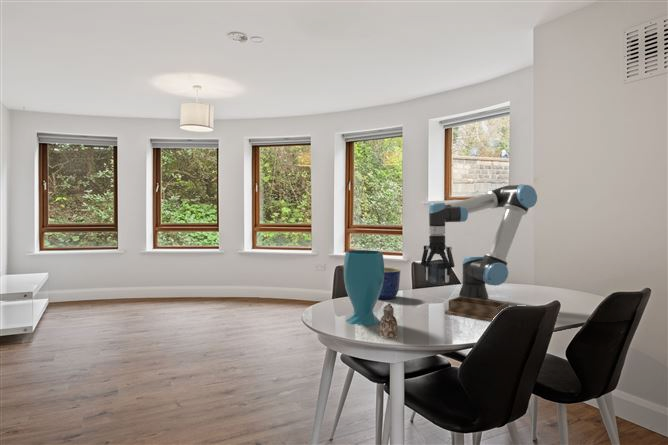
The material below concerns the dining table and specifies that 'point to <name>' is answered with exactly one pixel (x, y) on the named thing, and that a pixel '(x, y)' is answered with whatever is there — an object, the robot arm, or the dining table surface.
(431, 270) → the box
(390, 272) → the planter
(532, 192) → the robot arm
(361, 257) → the vase
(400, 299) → the dining table surface
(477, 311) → the tray
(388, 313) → the figurine
